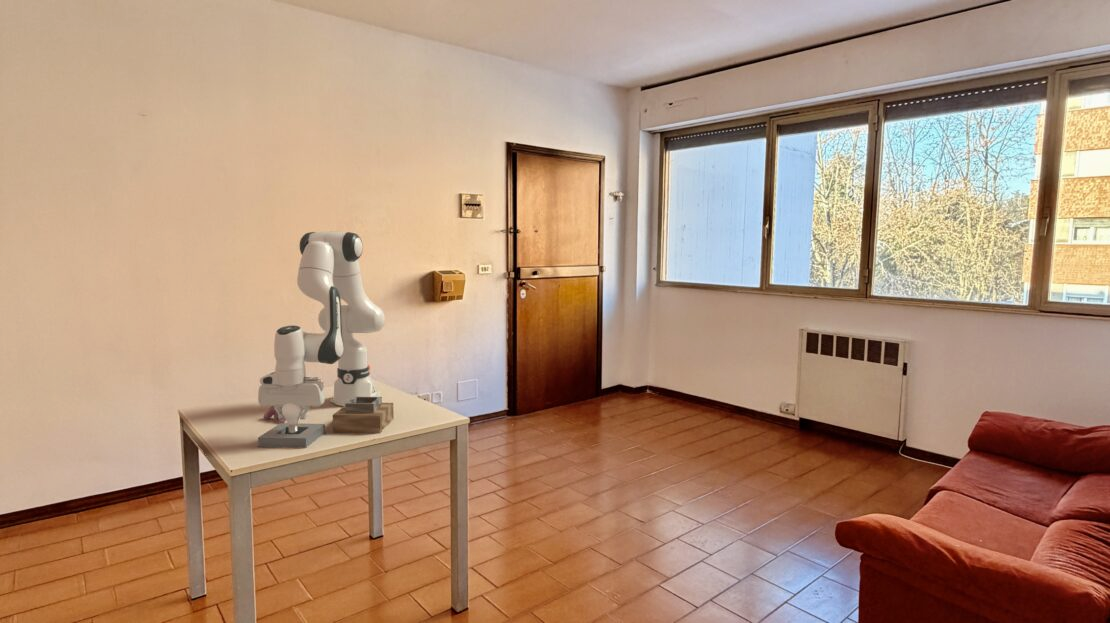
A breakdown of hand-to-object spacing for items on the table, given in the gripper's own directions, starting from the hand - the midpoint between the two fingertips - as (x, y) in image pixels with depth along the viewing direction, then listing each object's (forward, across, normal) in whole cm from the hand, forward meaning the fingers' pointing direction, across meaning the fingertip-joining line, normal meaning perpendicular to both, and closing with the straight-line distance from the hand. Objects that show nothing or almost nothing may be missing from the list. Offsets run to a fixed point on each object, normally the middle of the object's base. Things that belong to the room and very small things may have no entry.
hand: (292, 418), depth 194 cm
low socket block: (+7, 0, 0) cm, 7 cm away
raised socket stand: (+7, -18, -16) cm, 25 cm away
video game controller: (+7, +15, -20) cm, 26 cm away
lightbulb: (+5, 0, 0) cm, 5 cm away
